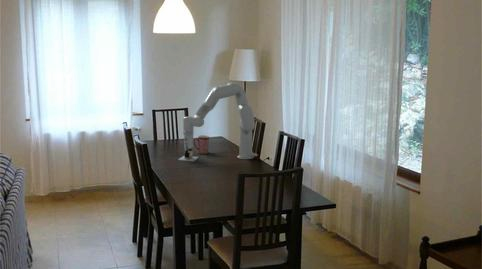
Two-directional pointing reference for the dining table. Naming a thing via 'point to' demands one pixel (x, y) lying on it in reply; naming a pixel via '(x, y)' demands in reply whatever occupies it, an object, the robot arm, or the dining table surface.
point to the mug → (203, 144)
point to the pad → (188, 159)
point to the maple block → (189, 155)
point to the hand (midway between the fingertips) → (188, 156)
